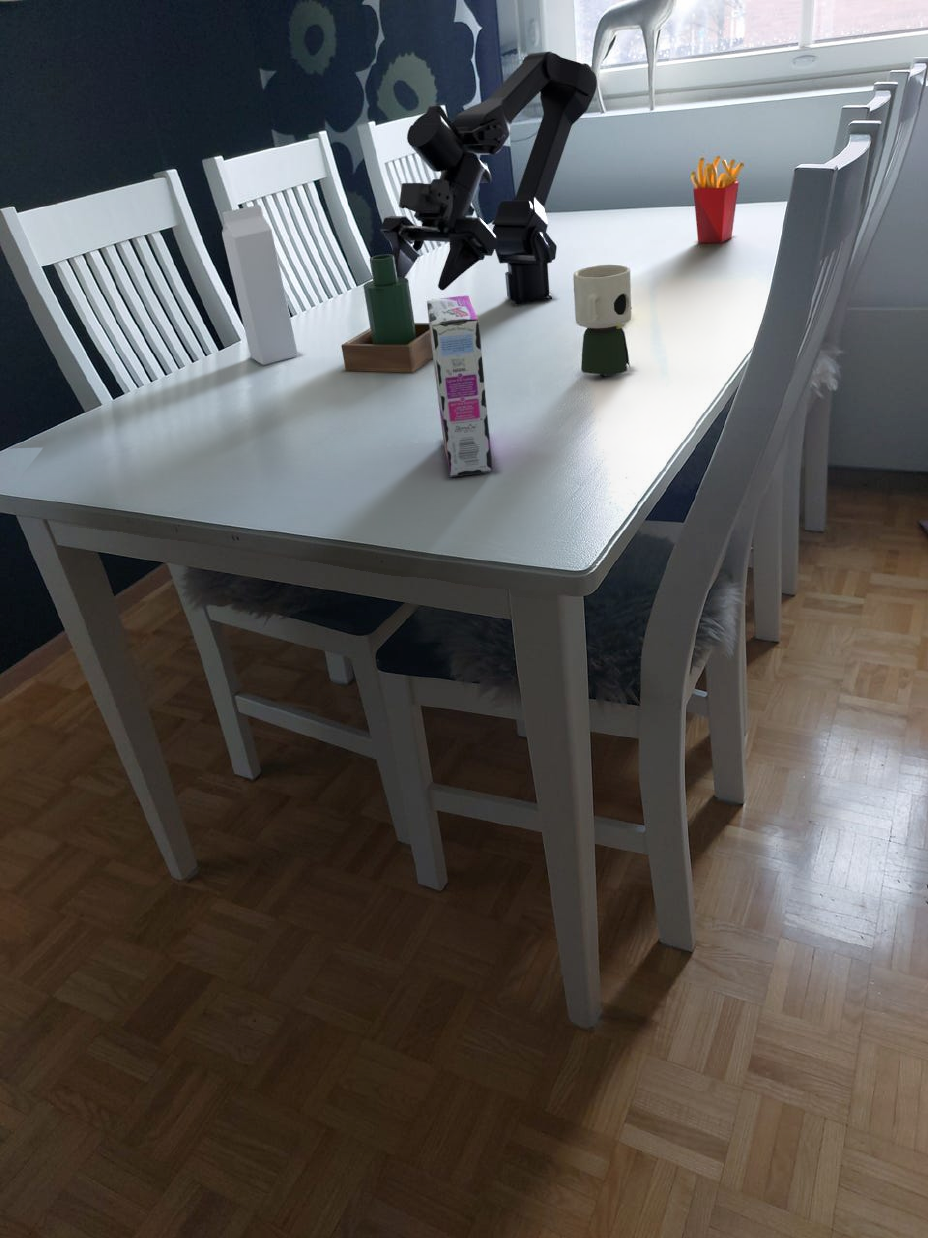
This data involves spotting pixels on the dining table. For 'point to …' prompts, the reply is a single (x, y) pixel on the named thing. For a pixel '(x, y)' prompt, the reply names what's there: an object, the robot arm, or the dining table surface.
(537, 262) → the robot arm
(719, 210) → the french fries
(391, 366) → the crate
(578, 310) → the character mug
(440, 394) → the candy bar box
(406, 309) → the bottle
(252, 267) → the milk
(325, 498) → the dining table surface
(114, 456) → the dining table surface
